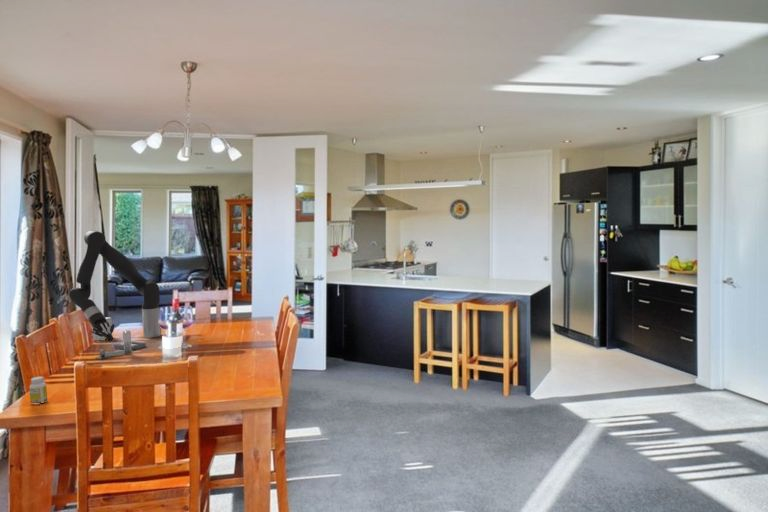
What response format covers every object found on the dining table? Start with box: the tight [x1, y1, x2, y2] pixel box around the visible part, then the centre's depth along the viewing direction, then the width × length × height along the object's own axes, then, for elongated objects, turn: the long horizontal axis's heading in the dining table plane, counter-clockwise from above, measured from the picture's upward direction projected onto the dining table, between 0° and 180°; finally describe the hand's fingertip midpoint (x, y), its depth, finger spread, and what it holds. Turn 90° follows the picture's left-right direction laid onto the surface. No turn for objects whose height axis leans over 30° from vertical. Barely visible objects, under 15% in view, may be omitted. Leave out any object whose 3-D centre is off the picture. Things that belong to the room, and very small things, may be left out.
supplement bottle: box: [29, 376, 48, 404], centre depth 195 cm, size 5×5×10 cm
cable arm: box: [99, 330, 133, 357], centre depth 264 cm, size 14×4×11 cm, turn 126°
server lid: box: [113, 340, 147, 351], centre depth 281 cm, size 9×14×2 cm, turn 65°
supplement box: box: [92, 316, 113, 342], centre depth 303 cm, size 7×7×13 cm
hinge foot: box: [96, 356, 113, 361], centre depth 260 cm, size 6×6×1 cm
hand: (111, 340), depth 273 cm, fingers closed
